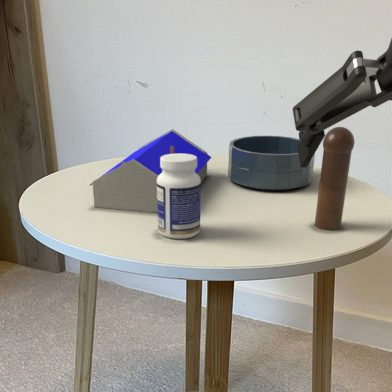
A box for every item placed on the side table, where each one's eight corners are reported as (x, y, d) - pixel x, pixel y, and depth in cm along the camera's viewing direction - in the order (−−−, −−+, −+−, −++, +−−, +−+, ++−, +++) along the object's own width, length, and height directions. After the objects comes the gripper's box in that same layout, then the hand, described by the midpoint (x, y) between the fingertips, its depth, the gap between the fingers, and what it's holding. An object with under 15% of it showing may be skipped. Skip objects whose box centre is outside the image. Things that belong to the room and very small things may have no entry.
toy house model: (180, 214, 87) (180, 163, 83) (89, 206, 89) (85, 156, 86) (211, 175, 105) (212, 131, 101) (135, 169, 108) (133, 126, 104)
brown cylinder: (335, 220, 86) (349, 123, 79) (346, 230, 82) (361, 129, 76) (309, 221, 85) (320, 124, 78) (318, 231, 82) (331, 130, 75)
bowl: (296, 168, 110) (299, 134, 107) (323, 191, 98) (327, 153, 95) (220, 171, 108) (221, 136, 105) (238, 194, 96) (240, 156, 93)
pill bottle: (207, 229, 82) (208, 154, 77) (189, 243, 77) (189, 164, 72) (169, 222, 84) (168, 149, 79) (149, 235, 79) (147, 159, 74)
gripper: (320, 59, 50) (260, 187, 70) (585, 59, 54) (455, 180, 74) (306, -16, 52) (252, 130, 72) (564, -10, 55) (443, 127, 76)
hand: (355, 156), depth 73 cm, fingers open, 13 cm apart
